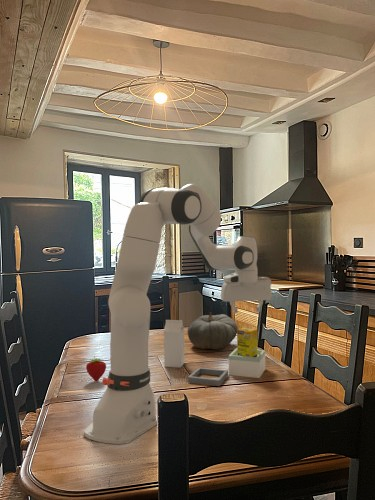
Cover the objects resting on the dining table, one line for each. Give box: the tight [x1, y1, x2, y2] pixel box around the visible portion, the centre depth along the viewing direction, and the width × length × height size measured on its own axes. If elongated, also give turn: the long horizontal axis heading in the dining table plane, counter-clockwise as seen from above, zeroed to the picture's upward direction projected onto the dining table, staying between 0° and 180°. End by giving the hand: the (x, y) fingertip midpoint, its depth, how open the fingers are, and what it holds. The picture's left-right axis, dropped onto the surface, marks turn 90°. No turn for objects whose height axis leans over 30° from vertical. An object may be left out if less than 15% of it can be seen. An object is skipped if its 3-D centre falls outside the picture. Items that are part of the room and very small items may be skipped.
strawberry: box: [85, 355, 107, 382], centre depth 150 cm, size 6×8×10 cm
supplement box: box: [236, 327, 258, 357], centre depth 158 cm, size 6×6×11 cm
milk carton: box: [163, 319, 186, 368], centre depth 169 cm, size 7×7×19 cm
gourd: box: [187, 311, 239, 351], centre depth 198 cm, size 25×25×17 cm
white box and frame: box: [187, 347, 266, 387], centre depth 155 cm, size 25×24×8 cm
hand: (246, 312), depth 158 cm, fingers open, 8 cm apart
